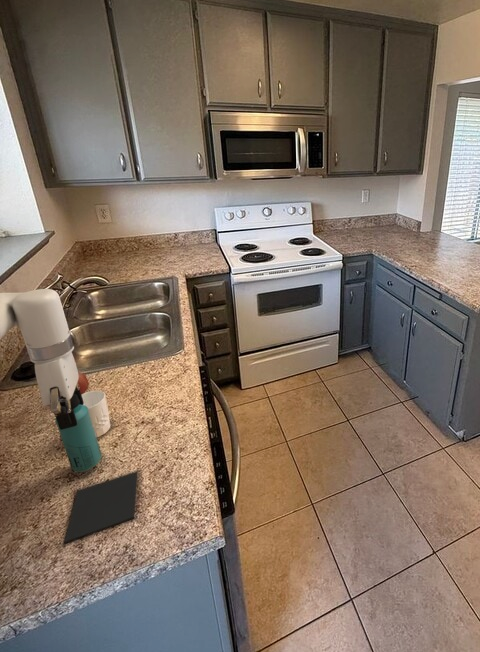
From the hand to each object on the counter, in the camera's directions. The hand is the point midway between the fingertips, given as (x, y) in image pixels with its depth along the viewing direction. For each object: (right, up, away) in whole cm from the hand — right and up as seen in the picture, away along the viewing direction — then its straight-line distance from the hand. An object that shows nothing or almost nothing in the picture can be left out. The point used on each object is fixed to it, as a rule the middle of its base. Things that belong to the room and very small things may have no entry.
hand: (72, 415), depth 81 cm
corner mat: (+10, -17, -4) cm, 21 cm away
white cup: (-5, -11, +16) cm, 20 cm away
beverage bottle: (0, -14, +5) cm, 15 cm away
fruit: (-20, -6, +30) cm, 36 cm away
